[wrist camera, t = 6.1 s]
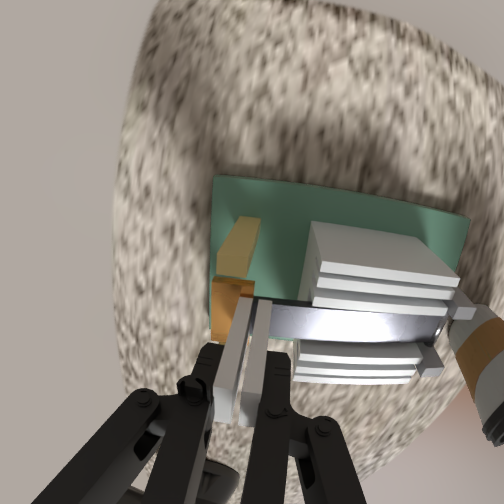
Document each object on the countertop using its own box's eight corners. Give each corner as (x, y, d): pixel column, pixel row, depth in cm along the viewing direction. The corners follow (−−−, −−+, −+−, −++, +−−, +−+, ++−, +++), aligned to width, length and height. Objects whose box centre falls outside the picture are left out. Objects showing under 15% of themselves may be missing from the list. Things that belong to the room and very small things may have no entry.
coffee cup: (495, 326, 23) (550, 408, 9) (446, 362, 26) (486, 457, 12) (489, 279, 21) (567, 368, 7) (432, 322, 24) (491, 435, 10)
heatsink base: (463, 215, 19) (527, 256, 11) (418, 340, 25) (447, 404, 16) (217, 174, 21) (170, 199, 12) (212, 321, 26) (183, 393, 18)
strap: (450, 296, 15) (457, 304, 14) (427, 344, 17) (432, 353, 16) (214, 274, 16) (210, 282, 15) (213, 332, 18) (210, 341, 17)
